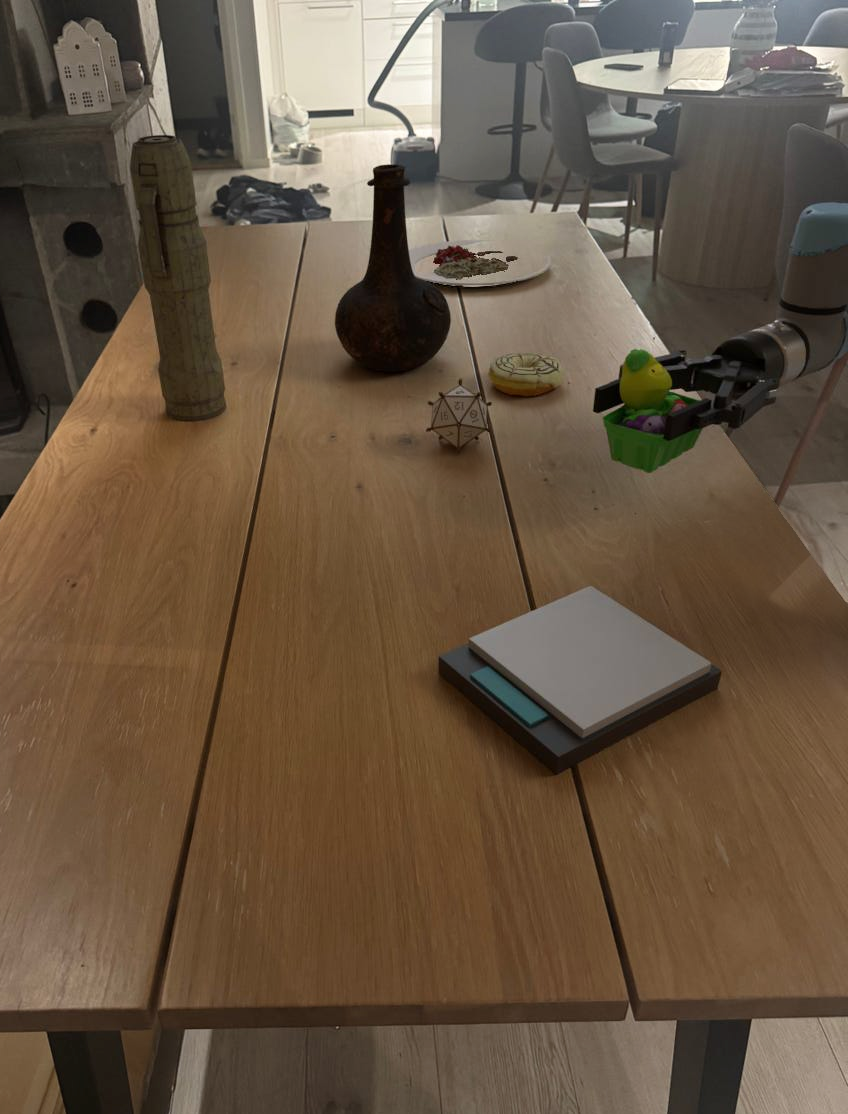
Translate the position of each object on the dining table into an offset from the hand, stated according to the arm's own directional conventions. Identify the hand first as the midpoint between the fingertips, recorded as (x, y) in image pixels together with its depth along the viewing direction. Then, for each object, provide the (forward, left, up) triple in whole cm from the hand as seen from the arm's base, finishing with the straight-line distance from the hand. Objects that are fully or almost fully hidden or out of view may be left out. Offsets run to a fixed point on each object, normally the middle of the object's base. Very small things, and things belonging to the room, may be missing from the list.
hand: (631, 414), depth 103 cm
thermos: (+57, +26, -13) cm, 64 cm away
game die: (+25, +3, -13) cm, 29 cm away
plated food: (+86, -47, -13) cm, 99 cm away
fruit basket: (+1, -4, -6) cm, 8 cm away
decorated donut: (+35, -17, -13) cm, 41 cm away
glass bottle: (+55, -7, -13) cm, 57 cm away
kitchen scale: (-20, +24, -12) cm, 34 cm away
